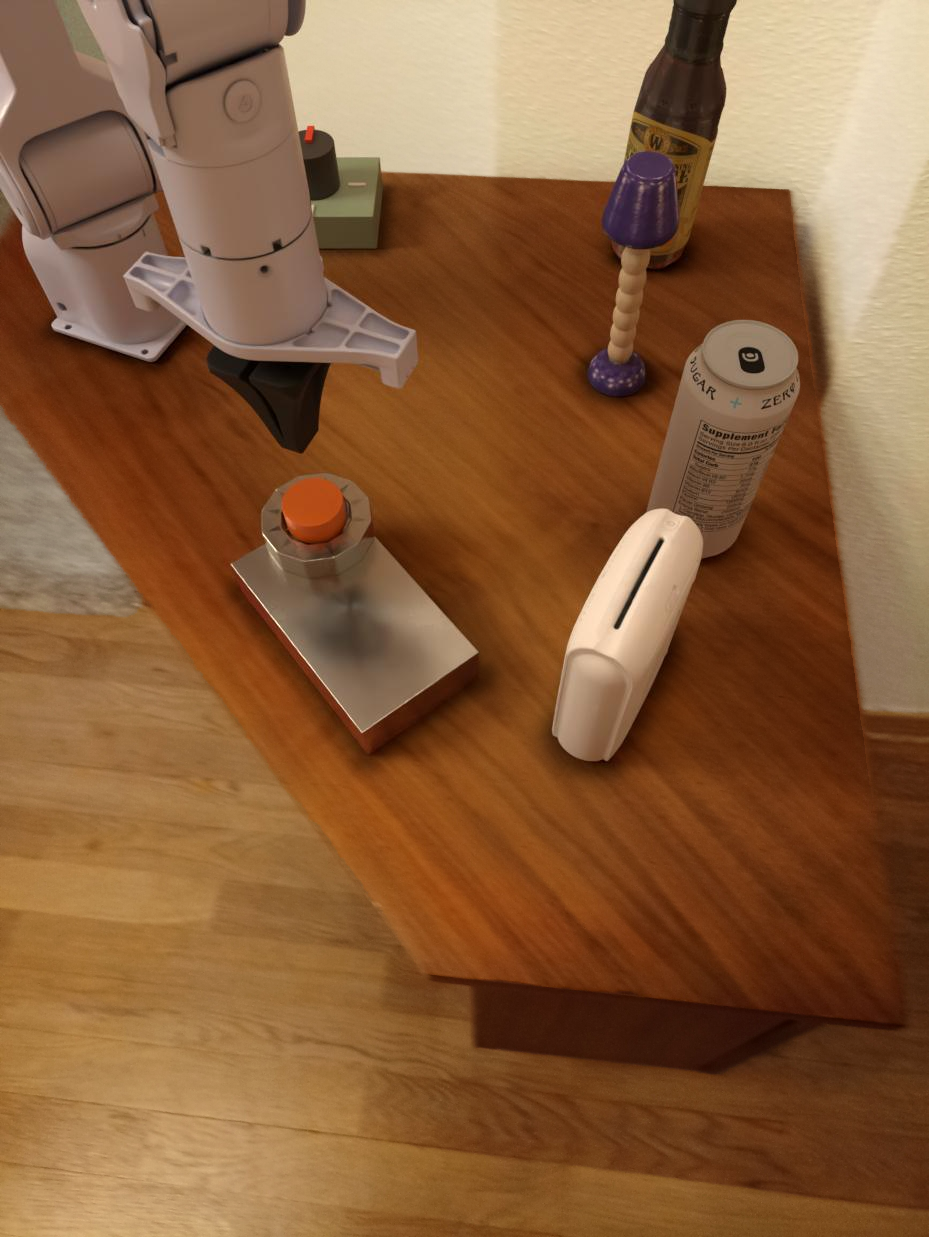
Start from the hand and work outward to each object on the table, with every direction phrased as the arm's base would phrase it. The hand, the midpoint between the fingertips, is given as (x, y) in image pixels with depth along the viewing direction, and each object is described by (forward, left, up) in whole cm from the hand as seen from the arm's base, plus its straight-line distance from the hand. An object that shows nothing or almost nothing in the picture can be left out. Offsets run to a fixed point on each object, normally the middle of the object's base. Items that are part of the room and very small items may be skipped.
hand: (299, 438), depth 49 cm
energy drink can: (+21, +10, -10) cm, 26 cm away
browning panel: (-16, +30, -10) cm, 36 cm away
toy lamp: (+12, +21, -10) cm, 27 cm away
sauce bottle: (+10, +36, -10) cm, 39 cm away
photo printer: (+20, -3, -10) cm, 23 cm away
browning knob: (-16, +30, -7) cm, 35 cm away
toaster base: (+5, -5, -10) cm, 12 cm away
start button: (+1, -1, -6) cm, 6 cm away
